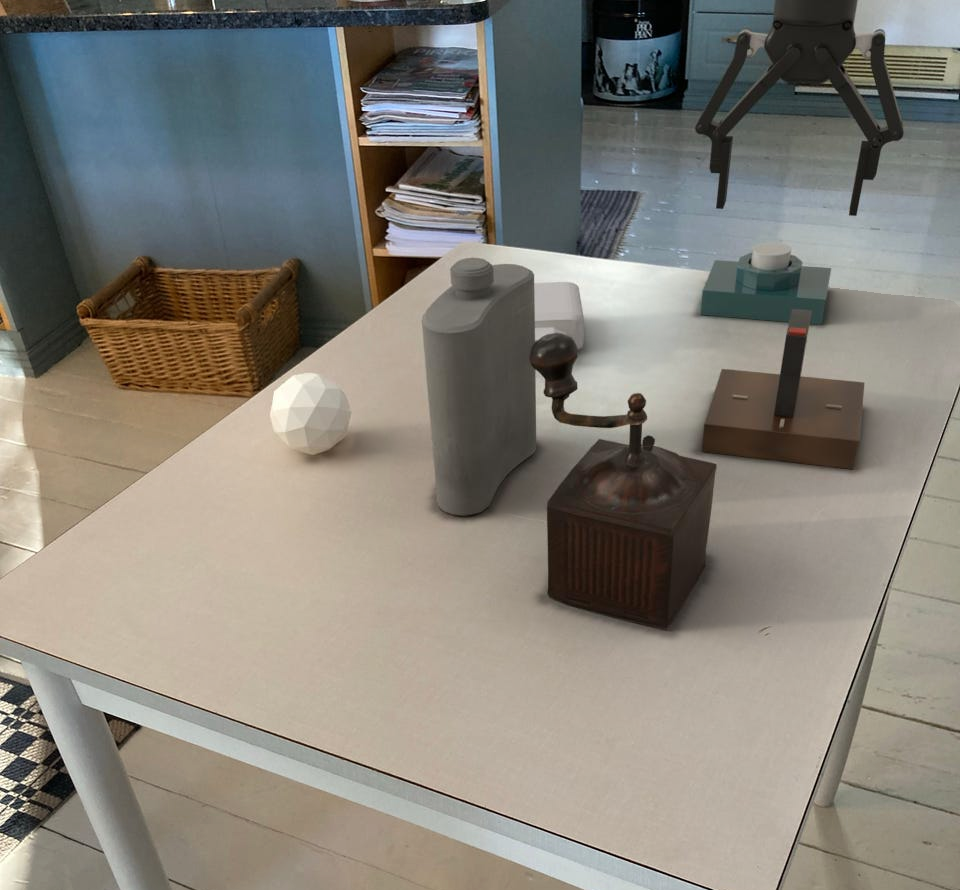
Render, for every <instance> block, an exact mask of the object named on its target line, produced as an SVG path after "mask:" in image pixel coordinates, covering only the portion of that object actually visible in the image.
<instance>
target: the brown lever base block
mask: <svg viewBox="0 0 960 890" xmlns="http://www.w3.org/2000/svg"><path fill="white" fill-rule="evenodd" d="M779 378H780V373H771V372H770V373H769V372H759V371H751V370H750V371H748V370H738V369H729V368H721V370H720V373H719V375H718V379H717V383H716V385H715V388H714V391H713V394H712V398H711V401H710V404H709V408H708V410H707V414H706V417H705V420H704V423H703V429H702V439H701V447H700V448H701V452H702V453H711V454H720V455H728V456H736V457H745V458H754V459H763V460H769V461H777V462H778V461H779V462H780V461H781V462H788V463H796V464H805V465H813V466H822V467H831V468H839V469H845V470H847V469H848V470H854V468H855V464H856V459H857V455H858V449H859V446H860V438H861V429H862V418H863V406H864V405H863V404H864V394H865V382H864V381H854V380H844V379H843V380H842V379H833V378H823V377H814V376H813V377H812V376H803V375H801V378H800V384H799V390H798V395H797V401H796V406H795V411H794V416H793V417H785V416H776V415H774V411H775V404H776V398H777V391H778V385H779Z"/></svg>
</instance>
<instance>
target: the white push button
mask: <svg viewBox="0 0 960 890" xmlns="http://www.w3.org/2000/svg"><path fill="white" fill-rule="evenodd" d="M751 253H752V259H751V266H752V267H755V268H759V269H762V270H780V269H786V268H788V267H789V262H790V256H791V255H792V248H791V246H790V245H789V244H786V243H783V242H777V241H765V242H758V243H756V244H754V245H753V246H752V251H751Z"/></svg>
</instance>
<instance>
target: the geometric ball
mask: <svg viewBox="0 0 960 890" xmlns="http://www.w3.org/2000/svg"><path fill="white" fill-rule="evenodd" d="M347 396H348V395H346V393H345V392H344V391H343V389H342V388H341V387H340V386H339V385H338V384H337V383H335V382H334V380H333V379H332V378H329V377H327V376H324V375H321V374H319V373H314V372H303V373H299V374H293V375H291V376H290V377H289V378H288V379H287V380H286V381H285V382H283V383H282V384H281V385H280V386H278V387H277V388H276V389H275V390H274V391H273V397H272V402H271V408H270V413H269V417H270V421H271V424H272V425H271V426H272V429H273V432H274V433H275V434H276V436H277V437H278V438H279V439H280V440H281V441H282V442H283V443H284V444H285V445H286V446H287V447H288V448H289V449H290V450H294V451H297V452H300V453H304V454H308V455H311V456H315V455H318V454H321V453H324V452H325V453H326V452H328V451H329V450H330V449H332V448H333V447H334V446H336V445H337V444H338V443H339V442H341V441H342V440H343V439H345V438H346V437H347V433H348V429H349V424H350V420H351V415H352V410H351V409H352V408H351V406H350V403H349V400H348V397H347Z"/></svg>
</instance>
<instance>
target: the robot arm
mask: <svg viewBox="0 0 960 890" xmlns="http://www.w3.org/2000/svg"><path fill="white" fill-rule="evenodd" d="M858 2H859V0H774V6H773V15H772V23H771V27H770V30H769V32H768V33H761V32H755V31H752V29H751V28H748V27H744V28H743V29H742V30H741V31H740V33H739V34H738V36H737V39H736V42H735V47H734V52H733V57H732V59H731V61H730V62H729V65H728V67H727V68H726V70H725V72H724V74H723V75H722V76H721V79H720V81H719V83H718V84H717V87H716V88H715V90H714V92H713V93H712V95H711V96H710V99H709V101H708V103H706V106H705V107H704V109H703V112H702V113H701V115H700V117H699V118H698V121H697V123H696V124H695V127H694V131H695V133H696V134H697V135H703V136H706V137H707V138H709V139H710V141H711V148H710V157H709V158H710V159H709V172H710V174H718V175H719V176H718V185H717V194H716V195H717V196H716V206H715V209H719V210H723V209H724V208H725V205H726V202H727V196H728V188H729V187H728V186H729V179H730V168H731V161H732V149H733V140H734V136H732V135H729V133H730V132H731V131H732V130H733V129H734V128H735V127H736V125H738V124H739V122H740V121H741V120H742V119H743V118H744V117H745V116H746V115H747V114H748V113H749V111H750V110H751V109H752V108H753V107H754V106H755V105H756V104H757V103H758V102H759V101H760V100H761V99H762V97H764V95H766V93H767V92H768V91H769V90H770V89H772V87H774V85H775V84H777V82H778V81H779V80H781V81H782V82H783V83H786V85H787V86H798V85H801V84H806V85H809V86H814V87H815V86H818V87H819V86H821V85H822V84H824V83H827V82H828V81H829V82H830V83H831V86H832V87H833V88H834V90H835V91H836V92H837V93H838V96H840V98H841V100H842V101H843V103H844V104H845V106H846V108H847V109H848V111H849V112H850V114H851V116H852V118H853V119H854V121H855V122H856V124H857V126H858V127H859V128H860V130H861V132H862V133H863V135H864V136H865V138H866V140H861V144H860V149H859V155H858V159H857V165H856V171H855V177H854V181H853V187H852V193H851V198H850V203H849V209H848V210H849V211H848V216H849V217H857V215H858V210H859V204H860V200H861V194H862V188H863V184H864V180H865V181H874V179H875V177H876V176H877V172H878V167H879V163H880V157H881V151H882V149H883V147H884V146H885V145H886V144H889V143H891V142H899V141H900V140H902V139H903V137H904V131H905V130H904V129H905V128H904V122H903V120H902V115H901V112H900V109H899V105H898V101H897V98H896V97H897V96H896V94H895V93H896V92H895V90H894V86H893V82H892V80H891V76H890V75H891V74H890V72H889V69H888V64H887V62H886V58H885V51H886V50H885V48H886V31H885V30H884V29H882V28H879V29H876V30H874V31H873V32H871V33H870V32H869V33H861V34H856V31H855V20H856V19H855V18H856V14H857V7H858ZM762 48H764V51H765V53H766V54H767V56H768V59H769V61H770V62H771V64H770V66H769V67H768V68H767V69H766V70H765V71H764V72H763V74H762V75H761V76H760V77H759V79H757V80H756V81H755V83H754V84H753V85H752V86H751V87H750V88H748V90H747V91H746V93H744V95H743V96H742V97H741V98H740V99H739V100H738V101H737V102H736V104H735V105H733V106H732V107H731V109H730V110H729V111H728V112H727V113H726V114H725V116H724V117H723V118H722V119H720V121H719V122H717V121H715V120H714V118H715V116H716V114H717V113H718V111H719V109H720V108H721V106H722V104H723V102H724V101H725V98H726V97H727V96H728V93H729V91H730V90H731V89H732V87H733V85H734V83H735V81H736V79H737V78H738V76H739V74H740V72H741V71H742V68H743V67H744V64H745V63H746V60H747V59H752V58H754V57H755V55H756V53H757V52H758V50H759V49H762ZM856 49H858V50H859V51H860V52H861V56H862V58H863V59H864V60H866V61H870V70H871V73H872V77H873V81H874V84H875V87H876V91H877V95H878V98H879V102H880V104H881V108H882V112H883V115H884V119H885V123H886V126H883V127H881V126H880V123H879V122H878V121H877V119H876V118H875V116H874V115H873V113H872V111H871V109H870V107H869V106H868V105H867V103H866V101H865V99H864V98H863V96H862V95H861V93H860V91H859V90H858V88H857V87H856V85H855V83H854V82H853V80H852V78H851V77H850V75H849V72H848V71H847V69H846V67H845V65H844V63H845V62H846V60H847V59H849V57H850V56H851V55H852V54H853V52H854V50H856Z"/></svg>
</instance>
